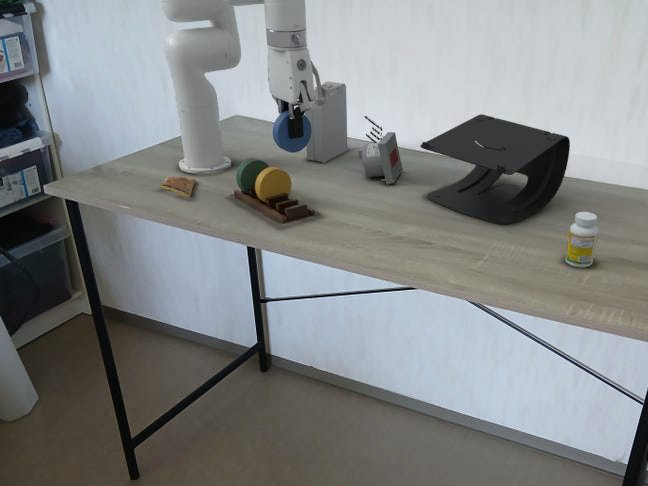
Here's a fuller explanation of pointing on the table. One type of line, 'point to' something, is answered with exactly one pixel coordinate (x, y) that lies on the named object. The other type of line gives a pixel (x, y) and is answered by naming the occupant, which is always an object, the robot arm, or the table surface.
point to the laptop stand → (501, 168)
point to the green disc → (249, 173)
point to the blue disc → (283, 135)
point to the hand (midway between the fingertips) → (292, 135)
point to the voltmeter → (381, 156)
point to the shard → (179, 185)
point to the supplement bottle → (582, 240)
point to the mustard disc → (272, 183)
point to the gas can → (327, 120)
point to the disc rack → (276, 206)
